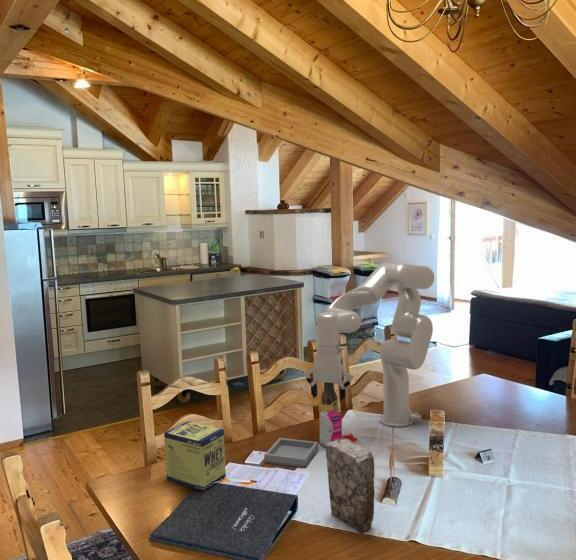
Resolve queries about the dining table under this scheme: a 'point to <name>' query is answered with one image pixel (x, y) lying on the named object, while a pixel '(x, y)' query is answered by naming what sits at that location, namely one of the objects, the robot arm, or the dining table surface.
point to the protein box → (195, 454)
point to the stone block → (351, 483)
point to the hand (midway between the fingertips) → (328, 398)
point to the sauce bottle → (329, 398)
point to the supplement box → (330, 427)
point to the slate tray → (291, 452)
